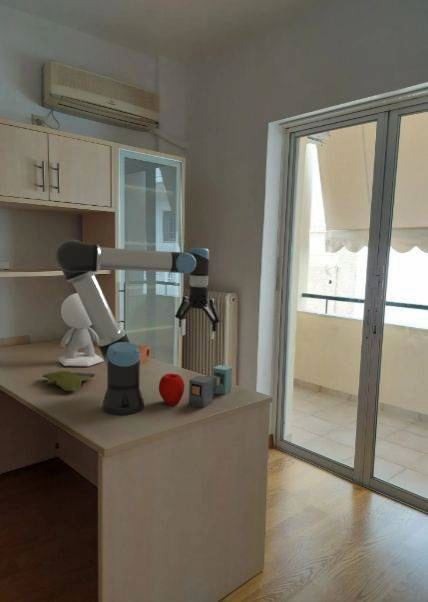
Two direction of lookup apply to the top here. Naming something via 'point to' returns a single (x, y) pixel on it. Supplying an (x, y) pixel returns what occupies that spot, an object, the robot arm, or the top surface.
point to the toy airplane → (67, 379)
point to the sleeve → (206, 394)
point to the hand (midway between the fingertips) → (197, 337)
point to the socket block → (223, 379)
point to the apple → (171, 388)
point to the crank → (144, 353)
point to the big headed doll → (78, 334)
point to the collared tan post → (198, 388)
